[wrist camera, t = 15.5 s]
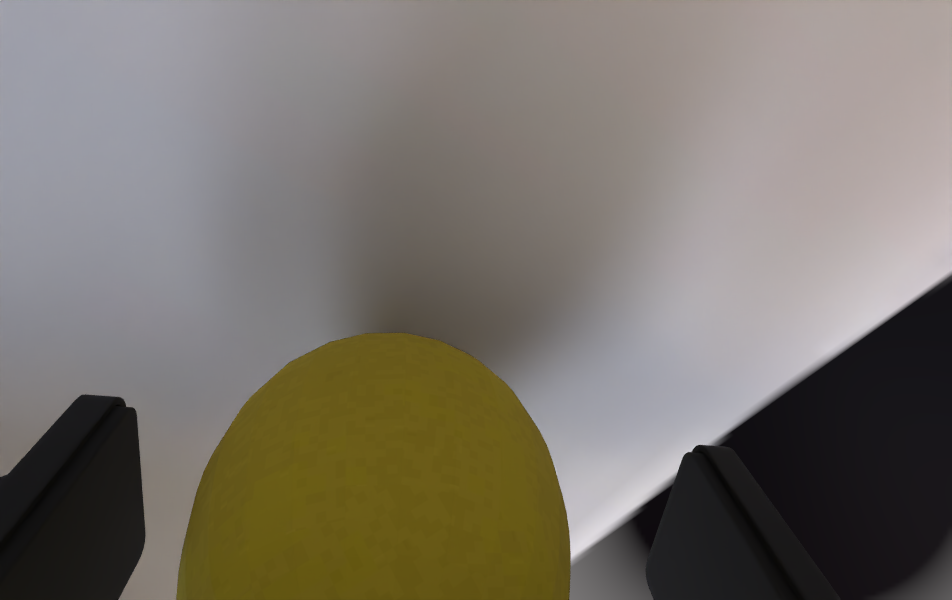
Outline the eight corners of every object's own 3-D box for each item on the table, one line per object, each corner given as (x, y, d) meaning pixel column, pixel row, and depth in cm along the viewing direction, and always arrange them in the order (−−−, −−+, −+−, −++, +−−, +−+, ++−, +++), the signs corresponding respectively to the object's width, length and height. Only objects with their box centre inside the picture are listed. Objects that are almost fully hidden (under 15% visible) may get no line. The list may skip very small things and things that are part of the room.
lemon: (497, 495, 15) (580, 959, 8) (252, 481, 14) (84, 987, 7) (545, 279, 13) (728, 644, 5) (258, 246, 12) (15, 627, 5)
